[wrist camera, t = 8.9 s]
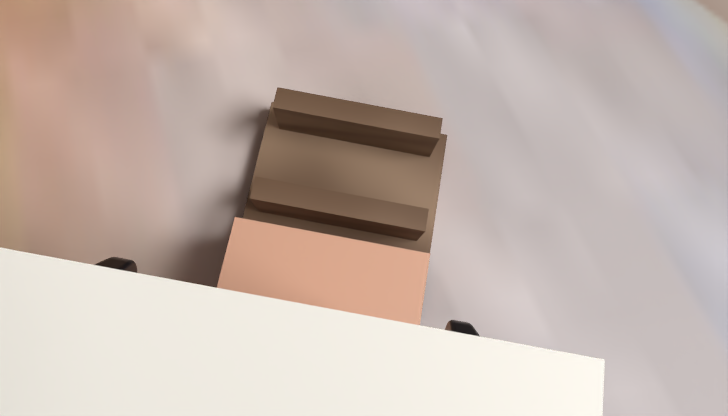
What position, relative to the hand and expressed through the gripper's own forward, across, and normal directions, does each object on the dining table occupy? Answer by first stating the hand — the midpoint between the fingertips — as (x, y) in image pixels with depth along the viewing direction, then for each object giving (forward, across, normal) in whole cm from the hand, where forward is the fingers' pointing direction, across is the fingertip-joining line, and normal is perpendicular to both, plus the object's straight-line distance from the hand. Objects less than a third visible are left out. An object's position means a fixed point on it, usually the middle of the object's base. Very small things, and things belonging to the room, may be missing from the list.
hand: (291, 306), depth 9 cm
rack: (+12, 0, +6) cm, 14 cm away
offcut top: (+8, 0, +7) cm, 11 cm away
